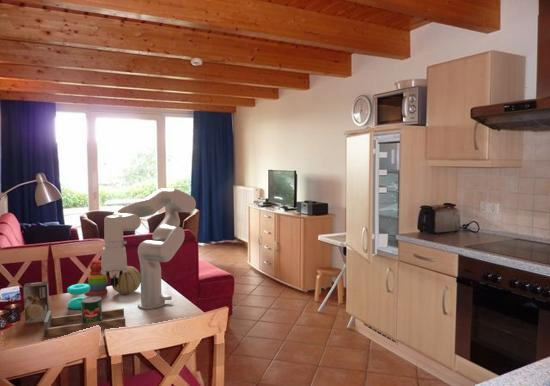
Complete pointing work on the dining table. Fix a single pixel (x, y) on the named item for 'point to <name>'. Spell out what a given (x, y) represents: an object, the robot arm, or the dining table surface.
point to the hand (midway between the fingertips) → (114, 286)
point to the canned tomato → (91, 309)
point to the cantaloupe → (128, 281)
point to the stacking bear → (97, 280)
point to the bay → (78, 318)
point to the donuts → (77, 290)
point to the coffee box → (36, 301)
